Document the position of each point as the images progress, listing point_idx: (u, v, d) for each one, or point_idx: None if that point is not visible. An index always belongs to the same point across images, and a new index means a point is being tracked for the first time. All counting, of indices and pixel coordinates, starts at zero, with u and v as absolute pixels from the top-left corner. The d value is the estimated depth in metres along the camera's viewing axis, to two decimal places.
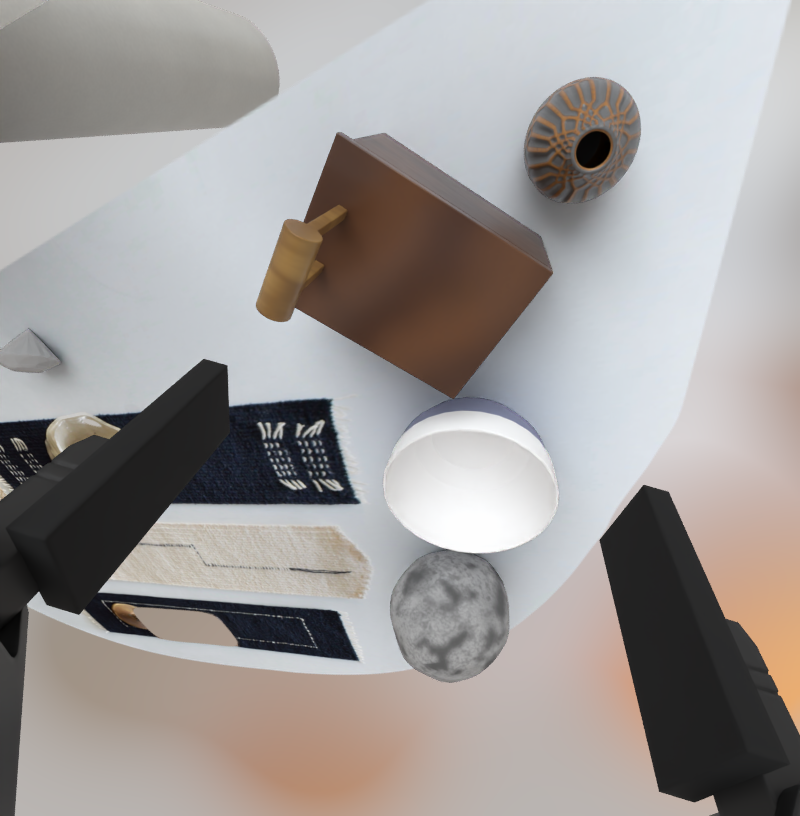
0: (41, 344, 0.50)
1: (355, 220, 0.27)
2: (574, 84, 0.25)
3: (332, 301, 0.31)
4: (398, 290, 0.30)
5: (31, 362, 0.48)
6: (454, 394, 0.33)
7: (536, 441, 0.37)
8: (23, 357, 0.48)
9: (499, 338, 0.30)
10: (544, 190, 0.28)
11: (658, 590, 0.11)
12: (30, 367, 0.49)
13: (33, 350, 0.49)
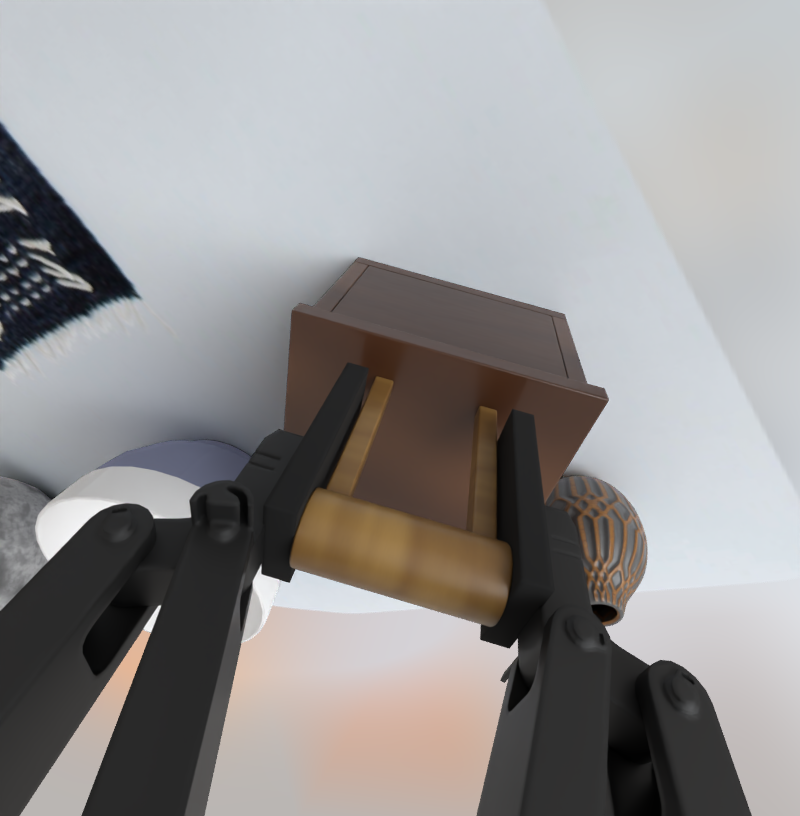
0: None
1: None
2: (643, 540, 0.25)
3: None
4: (392, 493, 0.20)
5: None
6: None
7: None
8: None
9: None
10: None
11: (504, 488, 0.12)
12: None
13: None
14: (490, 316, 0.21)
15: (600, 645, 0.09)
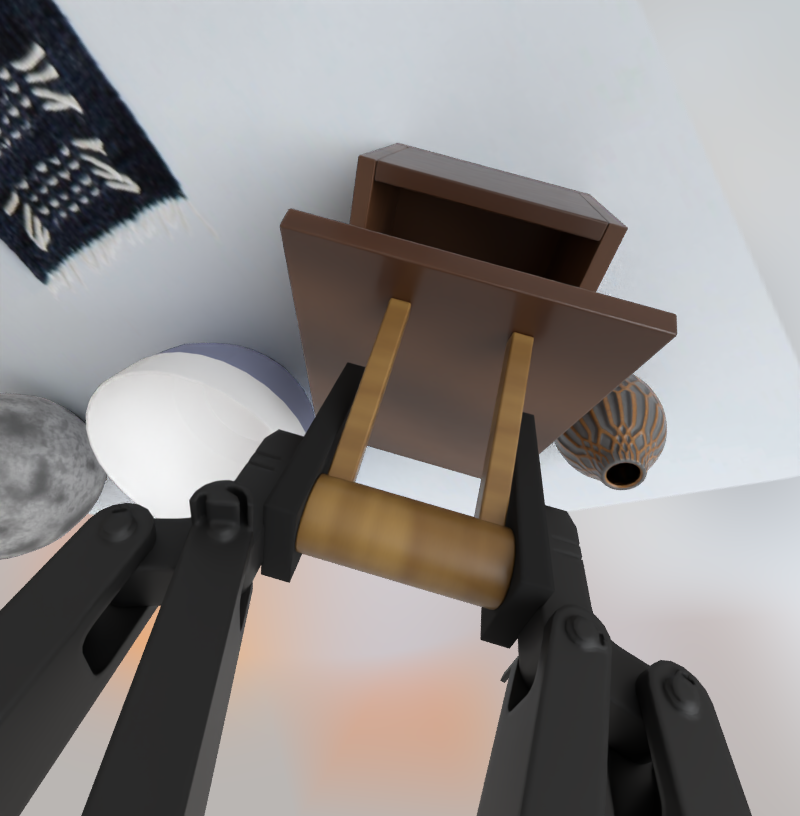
0: None
1: None
2: (663, 414, 0.26)
3: (348, 325, 0.16)
4: (420, 396, 0.19)
5: None
6: None
7: None
8: None
9: (415, 459, 0.26)
10: None
11: None
12: None
13: None
14: (524, 183, 0.22)
15: (600, 645, 0.09)
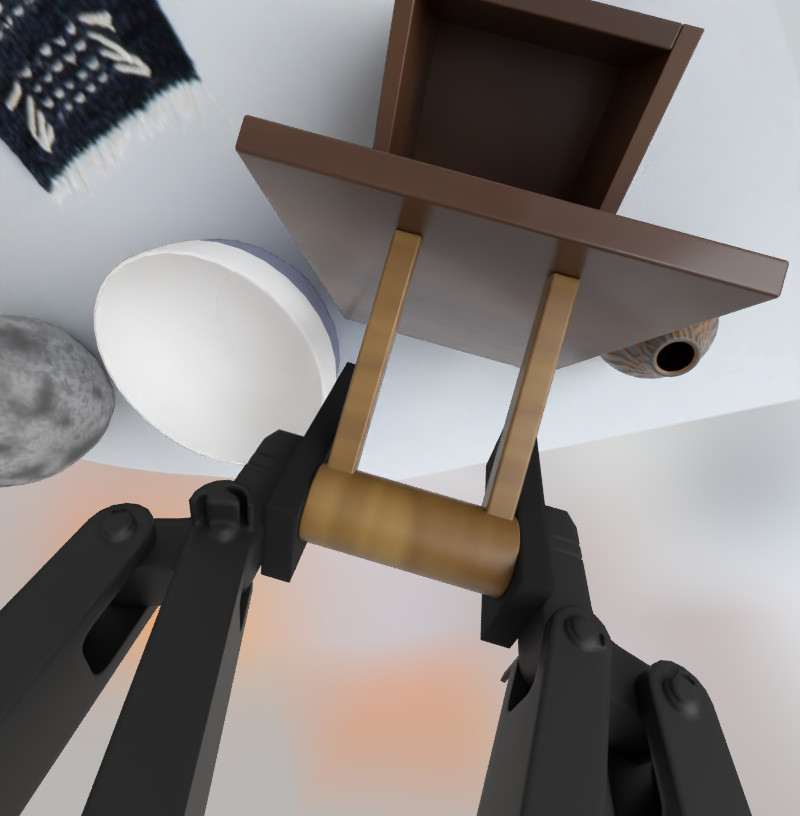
0: None
1: None
2: None
3: (351, 247, 0.13)
4: (446, 308, 0.16)
5: None
6: (351, 319, 0.24)
7: None
8: None
9: (449, 347, 0.24)
10: None
11: None
12: None
13: None
14: None
15: (600, 645, 0.09)
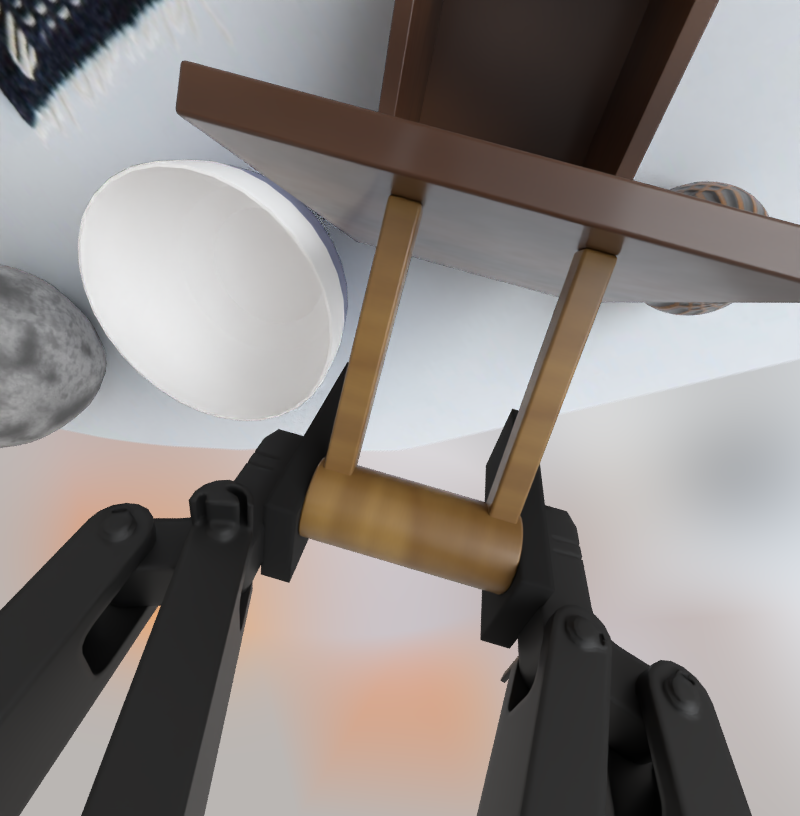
0: None
1: None
2: None
3: (344, 199, 0.11)
4: (463, 251, 0.14)
5: None
6: (363, 242, 0.22)
7: (333, 359, 0.28)
8: None
9: None
10: None
11: None
12: None
13: None
14: None
15: (601, 645, 0.09)
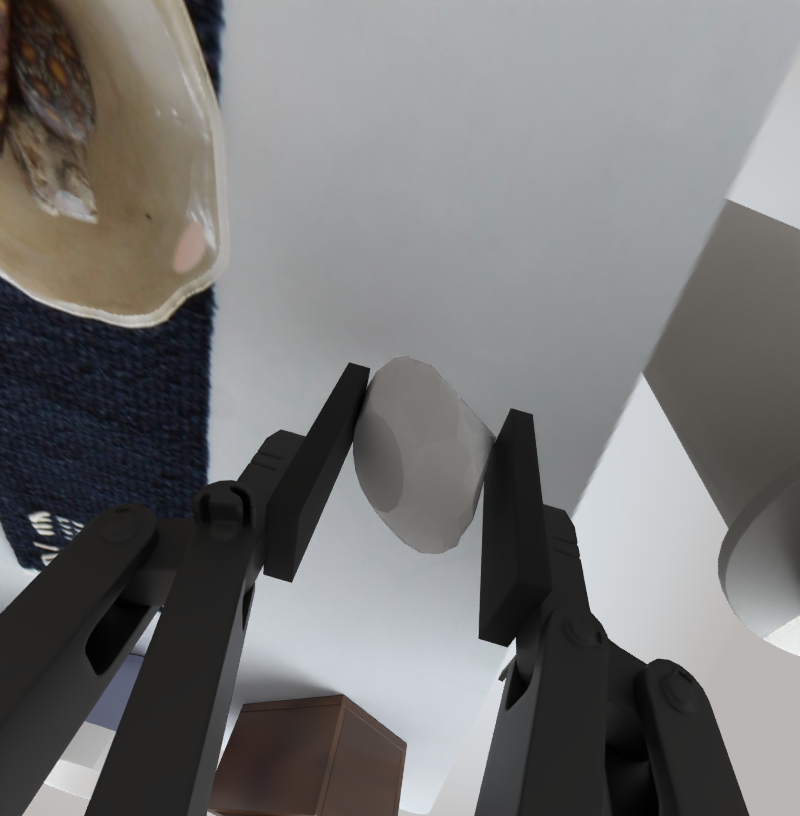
0: None
1: None
2: None
3: None
4: None
5: (386, 522, 0.14)
6: None
7: None
8: (409, 544, 0.14)
9: None
10: None
11: (503, 487, 0.13)
12: (374, 505, 0.13)
13: None
14: (380, 765, 0.42)
15: (598, 644, 0.09)
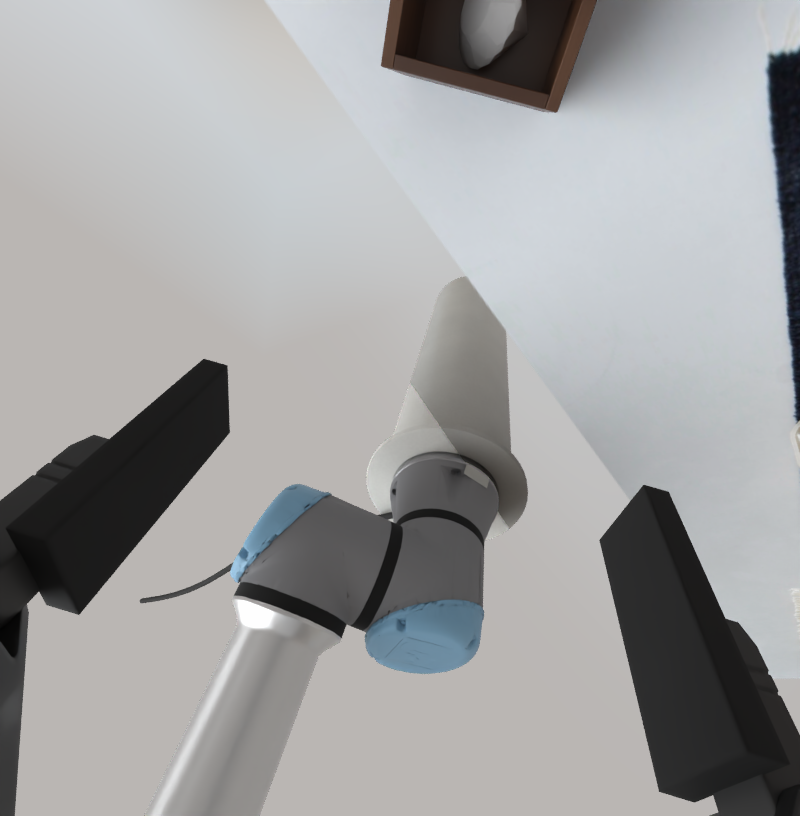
0: None
1: None
2: None
3: None
4: None
5: (477, 49, 0.30)
6: None
7: None
8: (488, 55, 0.29)
9: None
10: None
11: (658, 590, 0.11)
12: (472, 34, 0.29)
13: None
14: (450, 86, 0.32)
15: None
